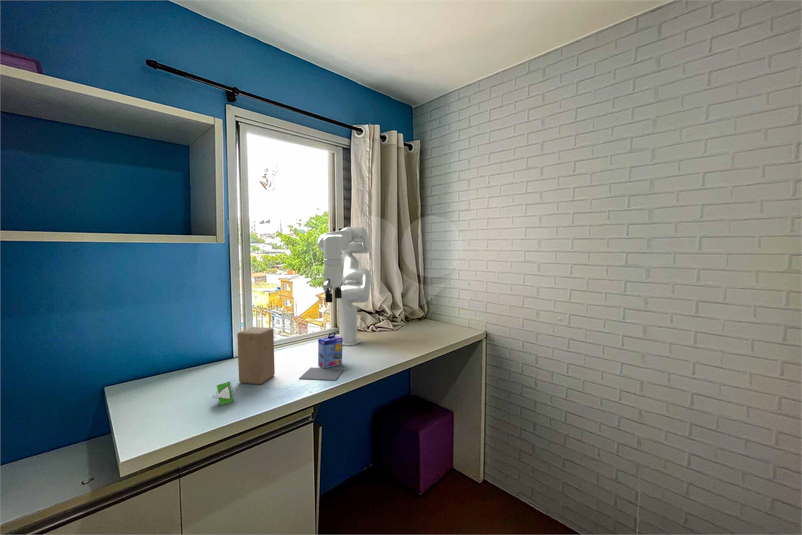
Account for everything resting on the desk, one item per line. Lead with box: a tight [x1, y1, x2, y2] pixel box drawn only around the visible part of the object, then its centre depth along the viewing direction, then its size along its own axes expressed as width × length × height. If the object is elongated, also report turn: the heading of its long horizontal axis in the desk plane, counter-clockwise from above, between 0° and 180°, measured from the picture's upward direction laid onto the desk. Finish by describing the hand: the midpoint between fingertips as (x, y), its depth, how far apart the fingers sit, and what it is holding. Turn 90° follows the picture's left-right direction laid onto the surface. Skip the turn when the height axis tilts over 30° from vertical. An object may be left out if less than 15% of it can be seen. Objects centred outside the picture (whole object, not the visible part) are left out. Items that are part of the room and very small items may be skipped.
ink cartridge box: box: [317, 332, 343, 369], centre depth 150 cm, size 10×6×14 cm, turn 138°
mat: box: [298, 367, 345, 382], centre depth 140 cm, size 12×15×1 cm
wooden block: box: [236, 326, 276, 385], centre depth 134 cm, size 10×10×20 cm
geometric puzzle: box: [212, 381, 239, 406], centre depth 115 cm, size 7×7×8 cm
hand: (333, 300), depth 155 cm, fingers open, 9 cm apart
